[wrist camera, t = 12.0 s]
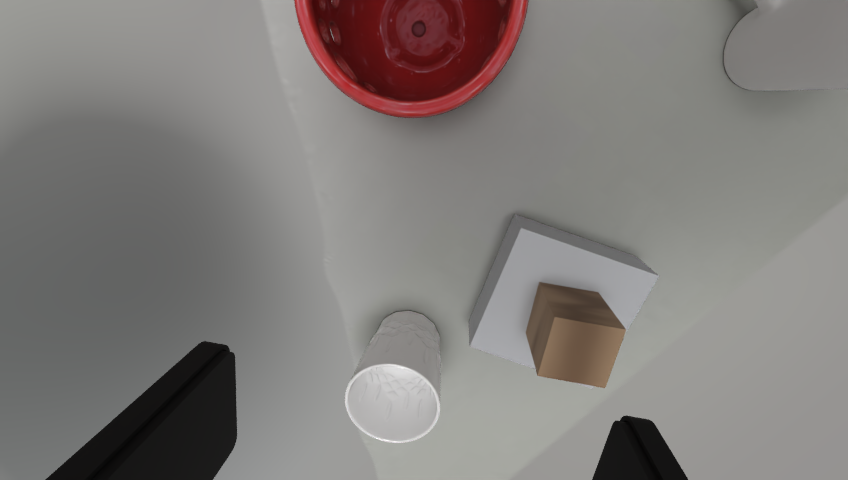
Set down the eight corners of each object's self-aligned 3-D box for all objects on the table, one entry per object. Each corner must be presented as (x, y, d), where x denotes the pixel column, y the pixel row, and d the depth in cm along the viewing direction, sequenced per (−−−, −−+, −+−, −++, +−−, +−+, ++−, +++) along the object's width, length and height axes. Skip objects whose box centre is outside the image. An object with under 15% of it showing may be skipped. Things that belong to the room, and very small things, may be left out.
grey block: (634, 254, 37) (659, 276, 32) (577, 356, 41) (593, 389, 36) (513, 212, 37) (521, 227, 32) (468, 319, 41) (469, 346, 36)
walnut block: (598, 292, 33) (626, 329, 28) (582, 342, 35) (605, 388, 29) (539, 281, 33) (554, 317, 28) (525, 332, 35) (537, 375, 29)
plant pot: (376, 133, 35) (335, 144, 24) (327, -30, 32) (251, -107, 20) (522, 90, 33) (553, 80, 22) (487, -91, 29) (501, -215, 18)
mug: (833, 48, 30) (1056, 11, 19) (750, 113, 32) (907, 115, 21) (758, -61, 28) (953, -172, 17) (675, 15, 30) (801, -41, 19)
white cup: (400, 381, 44) (383, 456, 34) (356, 328, 42) (325, 391, 32) (460, 348, 42) (459, 418, 32) (416, 291, 40) (401, 347, 30)
